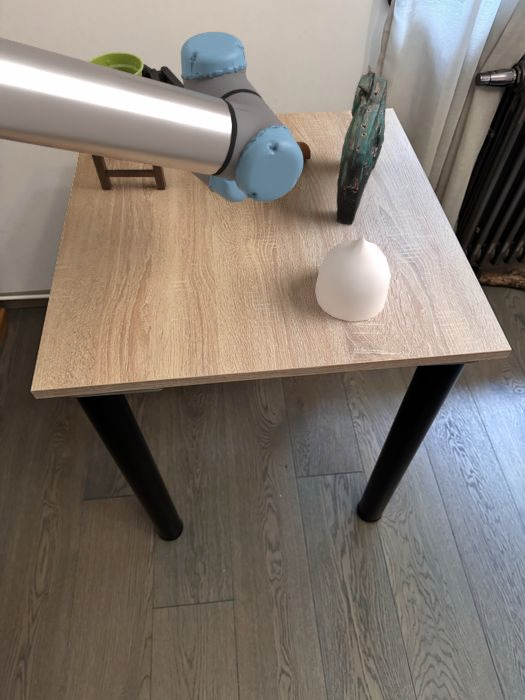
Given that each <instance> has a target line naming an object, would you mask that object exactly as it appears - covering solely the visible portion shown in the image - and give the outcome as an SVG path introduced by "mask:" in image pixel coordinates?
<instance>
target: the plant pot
mask: <svg viewBox="0 0 525 700" xmlns="http://www.w3.org/2000/svg"><path fill="white" fill-rule="evenodd" d="M87 62H91V63H94V64H98V65H102V66H105V67H109V68H112V69H116V70H120V71H123V72H127V73H130V74H134V75H138V76H141V77H142V70H143V64H144V61H143V59H142V58H141V57H140V56H138V55H136V54H134V53H131V52H123V51H117V52H114V51H112V52H107V53H103V54H100V55H97V56H94V57H92V58H91V59H90V60H88V61H87Z"/></svg>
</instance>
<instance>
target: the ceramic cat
mask: <svg viewBox="0 0 525 700" xmlns="http://www.w3.org/2000/svg"><path fill="white" fill-rule="evenodd" d="M387 93H388V80H387V79H386V78H385V77H381V76H377V75H376V73H375V72H374V71H373V70H372V67H371V65H368V72H367V74H362V75H361V76H360V79H359V81H358V84H357V87H356V91H355V93H354V99H353V102H352V108H351V112H350V113H351V120H350V123H349V126H348V128H347V130H346V133H345V136H344V141H343V144H342V148H341V156H340V160H339V170H338V177H337V182H336V184H337V185H336V187H337V188H336V189H337V191H336V215H335V216H336V222H337V223H340V224H347V225H353V223H354V221H355V217H356V215H357V212H358V209H359V207H360V205H361V204H360V203H361V200H362V197H363V195H364V191H365V189H366V186H367V184H368V182H369V179H370V177H371V174H372V172H373V170H374V169H375V168H376V164H377V163H378V159H379V157H380V155H381V150H382V148H383V143H384V142H385V131H386V122H385V121H386V109H387V96H388V95H387Z"/></svg>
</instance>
